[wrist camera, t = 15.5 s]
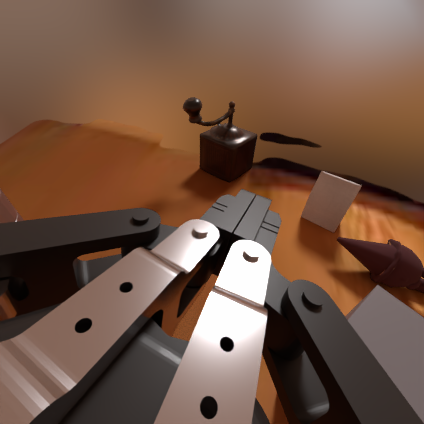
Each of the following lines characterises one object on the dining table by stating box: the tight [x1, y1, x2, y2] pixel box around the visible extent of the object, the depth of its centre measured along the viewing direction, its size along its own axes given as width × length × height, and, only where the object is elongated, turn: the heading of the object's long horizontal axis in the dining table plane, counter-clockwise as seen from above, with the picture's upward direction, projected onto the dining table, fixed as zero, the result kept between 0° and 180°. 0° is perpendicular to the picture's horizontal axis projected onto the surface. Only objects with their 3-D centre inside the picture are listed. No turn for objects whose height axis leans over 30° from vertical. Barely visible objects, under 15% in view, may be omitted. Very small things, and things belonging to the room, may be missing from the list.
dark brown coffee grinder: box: [183, 98, 257, 182], centre depth 52 cm, size 16×11×18 cm
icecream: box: [337, 237, 424, 293], centre depth 34 cm, size 7×8×15 cm
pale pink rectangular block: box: [301, 171, 361, 233], centre depth 42 cm, size 4×7×10 cm, turn 49°
